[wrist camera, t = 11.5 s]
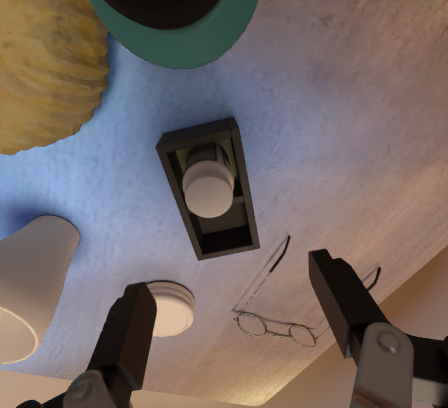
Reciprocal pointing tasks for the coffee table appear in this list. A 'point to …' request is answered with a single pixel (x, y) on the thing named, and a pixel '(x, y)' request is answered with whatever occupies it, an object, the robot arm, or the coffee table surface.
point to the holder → (242, 203)
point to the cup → (32, 283)
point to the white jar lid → (171, 308)
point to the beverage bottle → (176, 28)
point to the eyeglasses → (293, 325)
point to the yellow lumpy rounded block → (49, 70)
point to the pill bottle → (208, 180)
